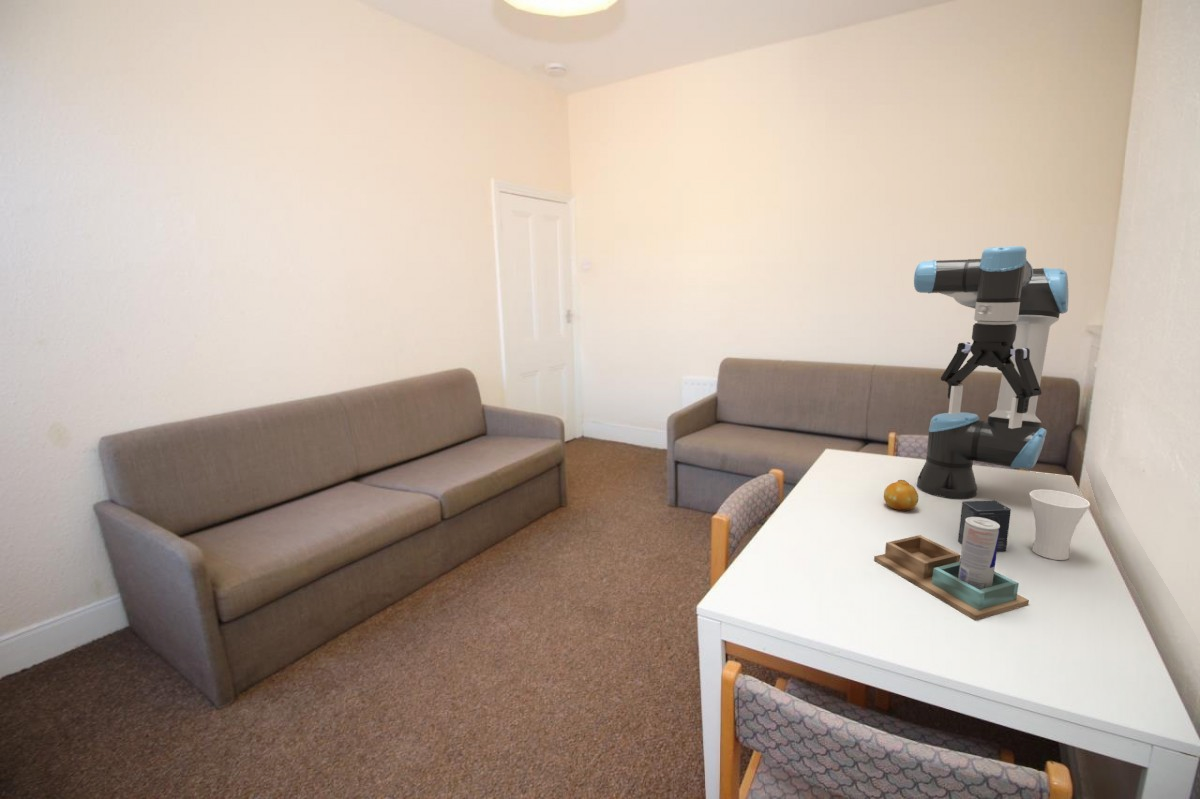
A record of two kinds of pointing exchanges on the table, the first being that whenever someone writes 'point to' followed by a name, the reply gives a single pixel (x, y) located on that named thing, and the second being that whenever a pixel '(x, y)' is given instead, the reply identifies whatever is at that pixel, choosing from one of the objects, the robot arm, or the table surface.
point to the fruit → (901, 495)
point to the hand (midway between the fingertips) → (982, 420)
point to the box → (988, 511)
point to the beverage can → (979, 552)
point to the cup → (1055, 521)
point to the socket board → (948, 577)
